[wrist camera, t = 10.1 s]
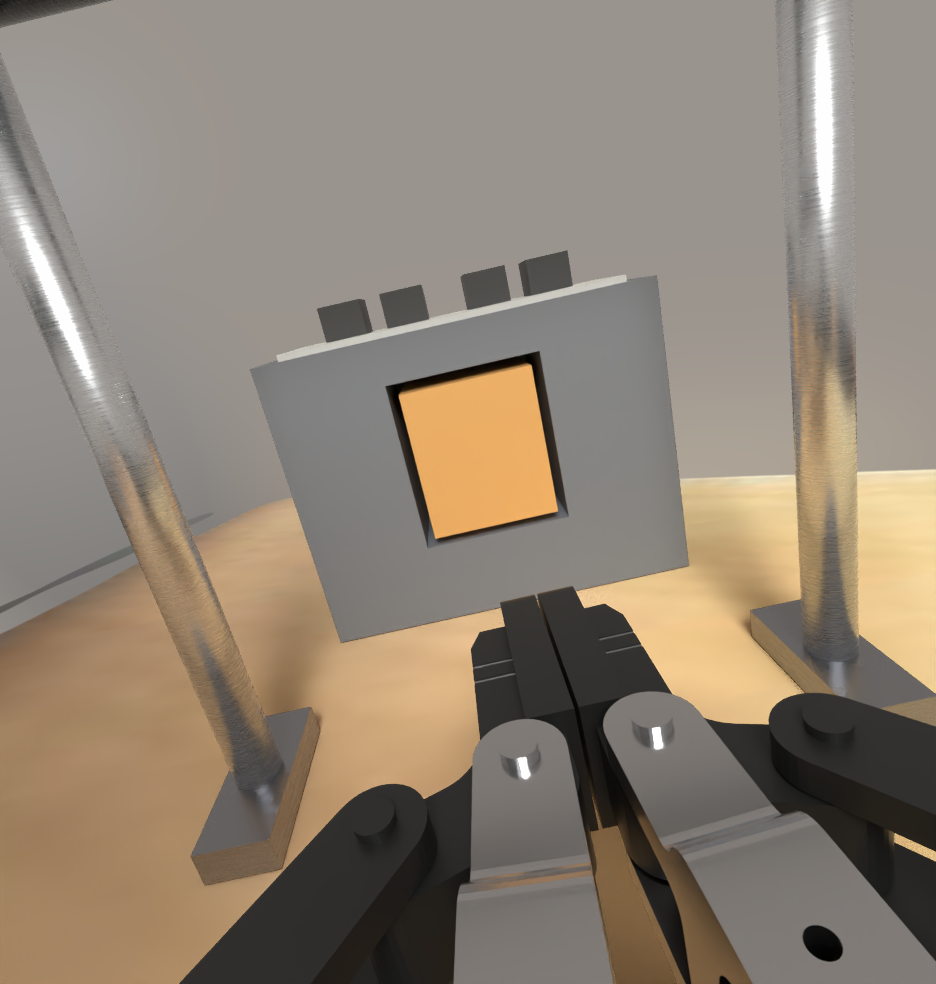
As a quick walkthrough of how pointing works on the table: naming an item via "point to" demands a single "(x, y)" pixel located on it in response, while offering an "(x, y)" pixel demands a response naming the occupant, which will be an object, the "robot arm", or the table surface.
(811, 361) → the cord gate
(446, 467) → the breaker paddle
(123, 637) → the table surface
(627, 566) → the box
